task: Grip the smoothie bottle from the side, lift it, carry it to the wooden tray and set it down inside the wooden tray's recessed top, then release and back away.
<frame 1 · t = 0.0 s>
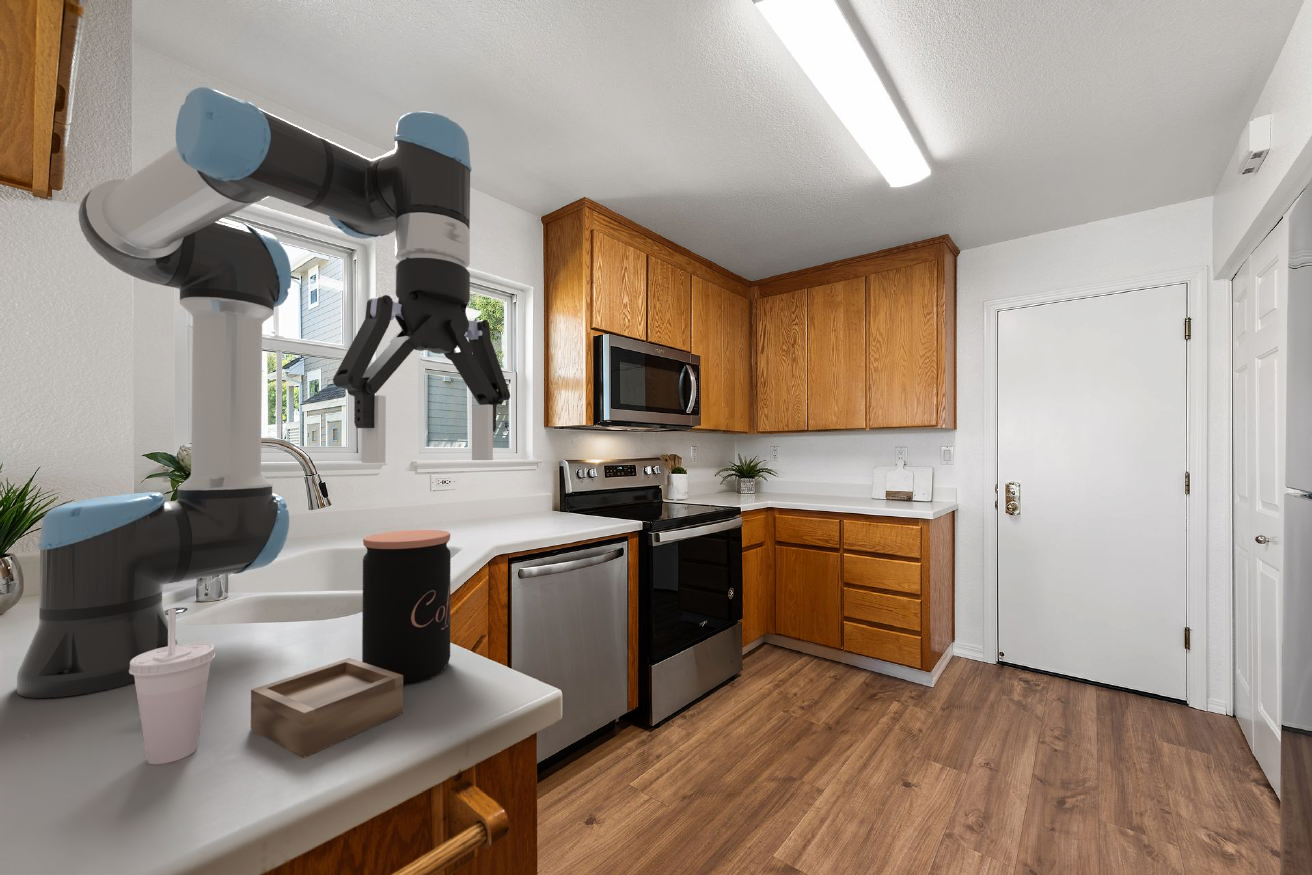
hand: (433, 461, 61), 28 cm above the countertop, tool pointing down, fingers open, 13 cm apart
wooden tray: (329, 721, 61), on the countertop
coffee jar: (407, 673, 75), on the countertop
smoothie: (172, 755, 55), on the countertop
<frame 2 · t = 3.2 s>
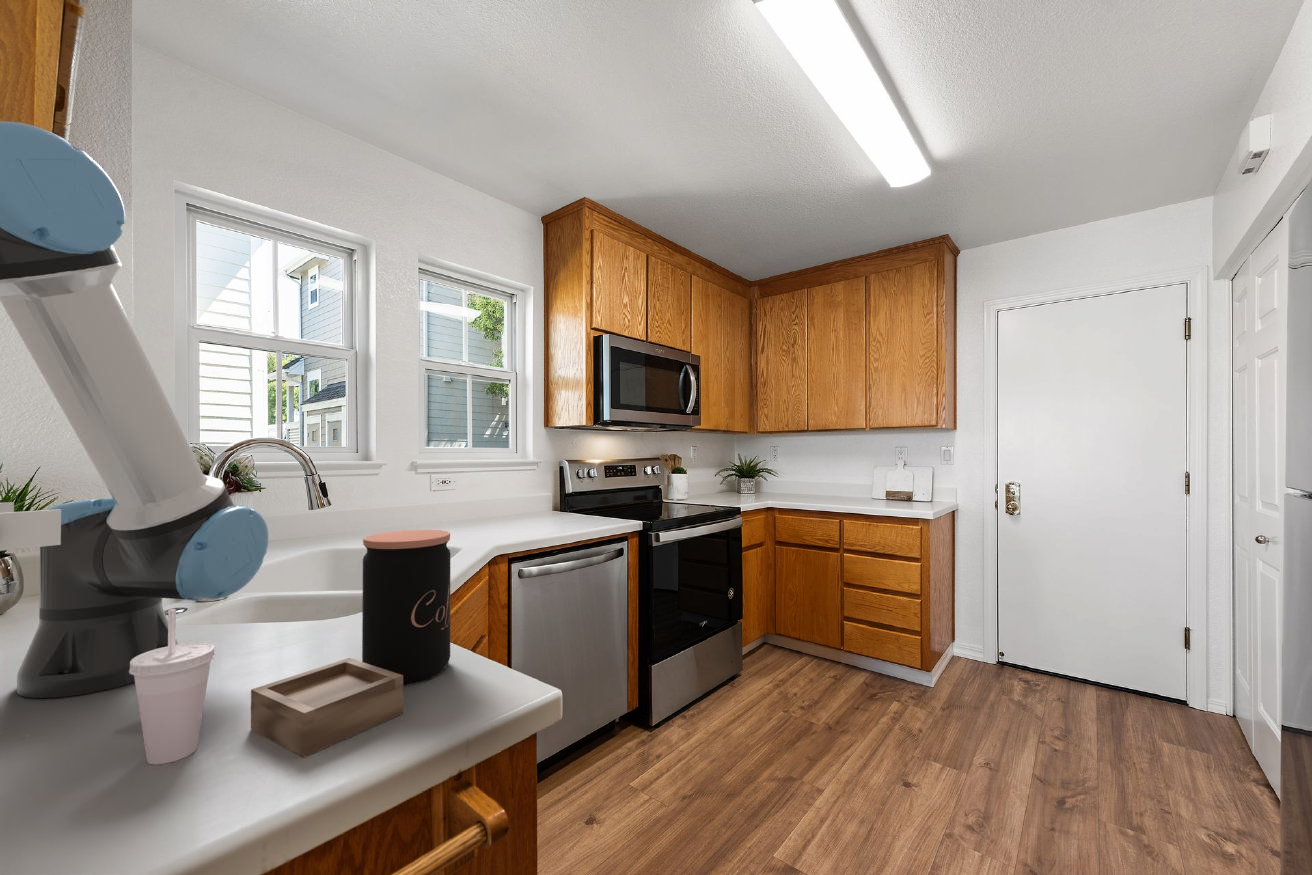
hand: (35, 521, 48), 23 cm above the countertop, tool horizontal, fingers open, 13 cm apart
nothing on the countertop moved.
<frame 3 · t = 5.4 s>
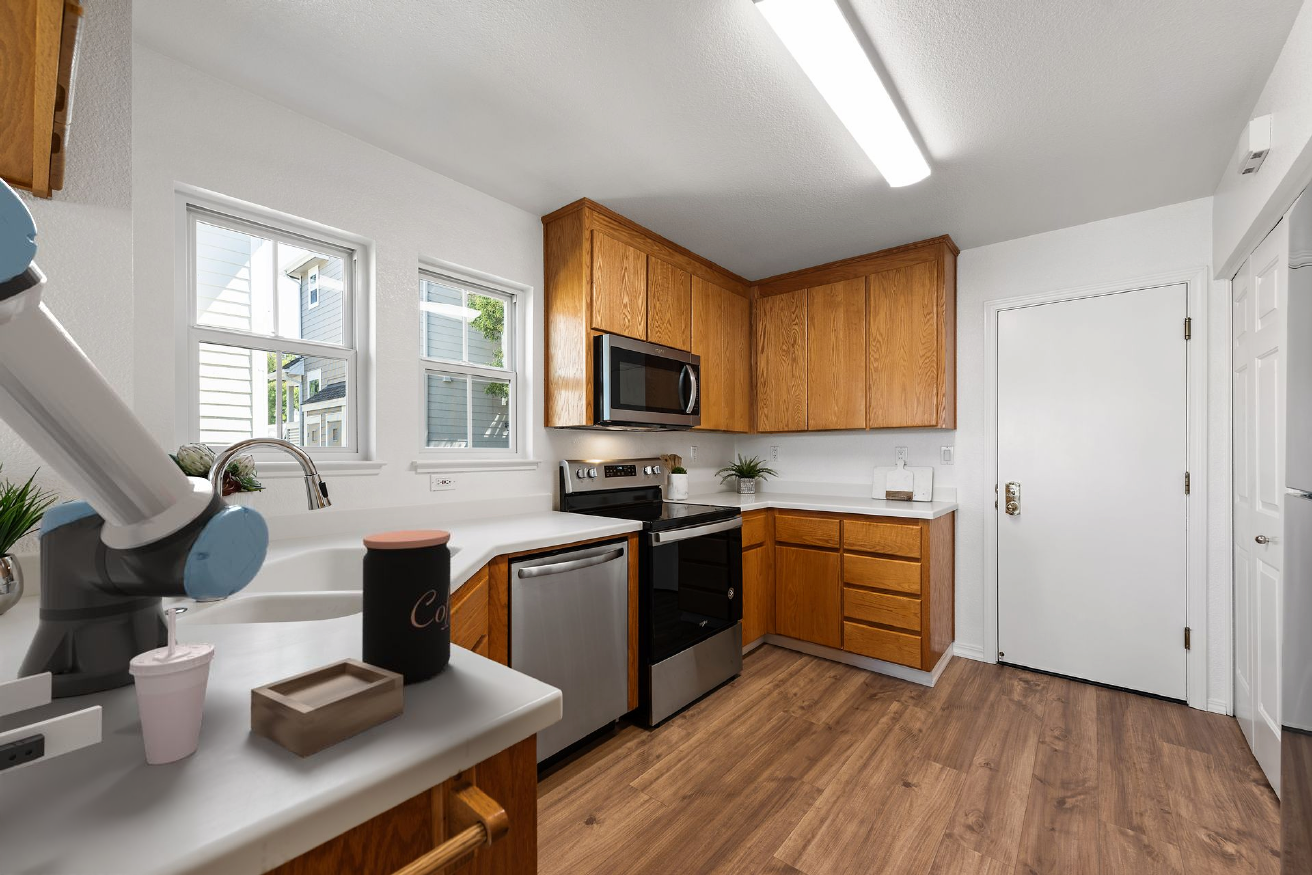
hand: (74, 703, 49), 7 cm above the countertop, tool horizontal, fingers open, 13 cm apart
nothing on the countertop moved.
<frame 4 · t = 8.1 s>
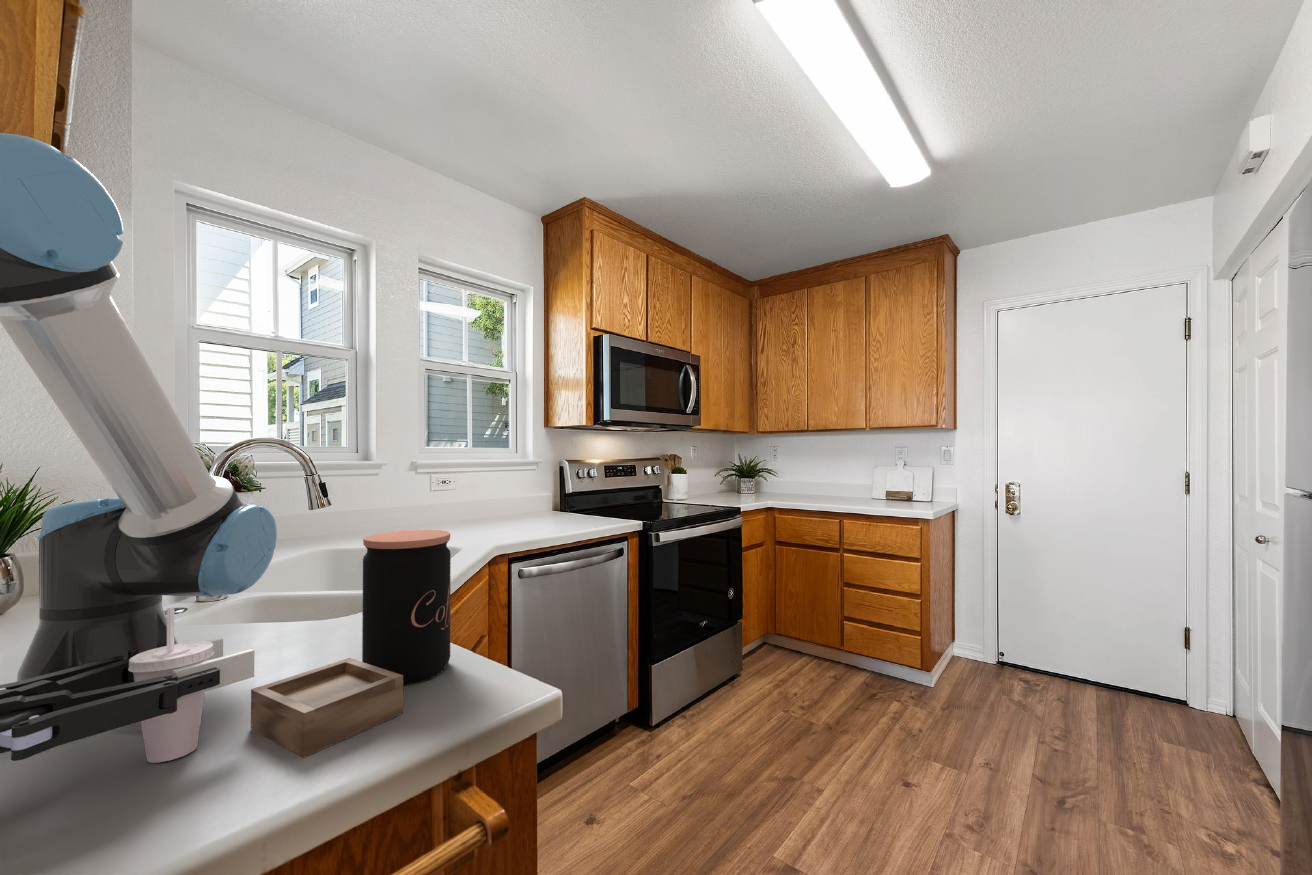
hand: (236, 656, 60), 8 cm above the countertop, tool horizontal, fingers closed on smoothie, 6 cm apart
smoothie: (172, 754, 55), on the countertop, touching gripper
everything else where it was.
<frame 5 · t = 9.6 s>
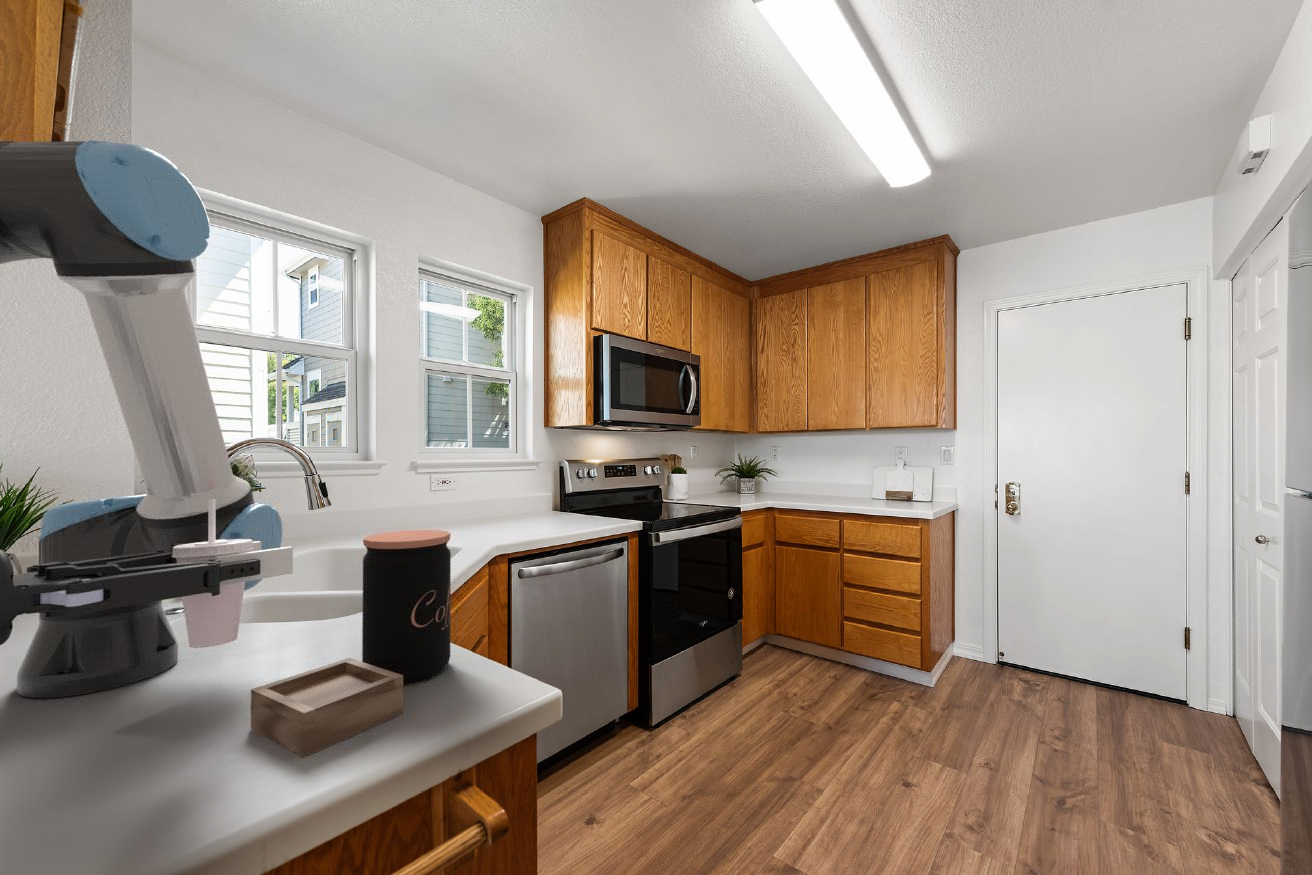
hand: (274, 556, 61), 18 cm above the countertop, tool horizontal, fingers closed on smoothie, 6 cm apart
smoothie: (213, 644, 56), point 10 cm above the countertop, touching gripper
everything else where it was.
when the fingers open (12 cm above the countertop, at t = 11.6 s): smoothie drops 2 cm, resting on wooden tray.
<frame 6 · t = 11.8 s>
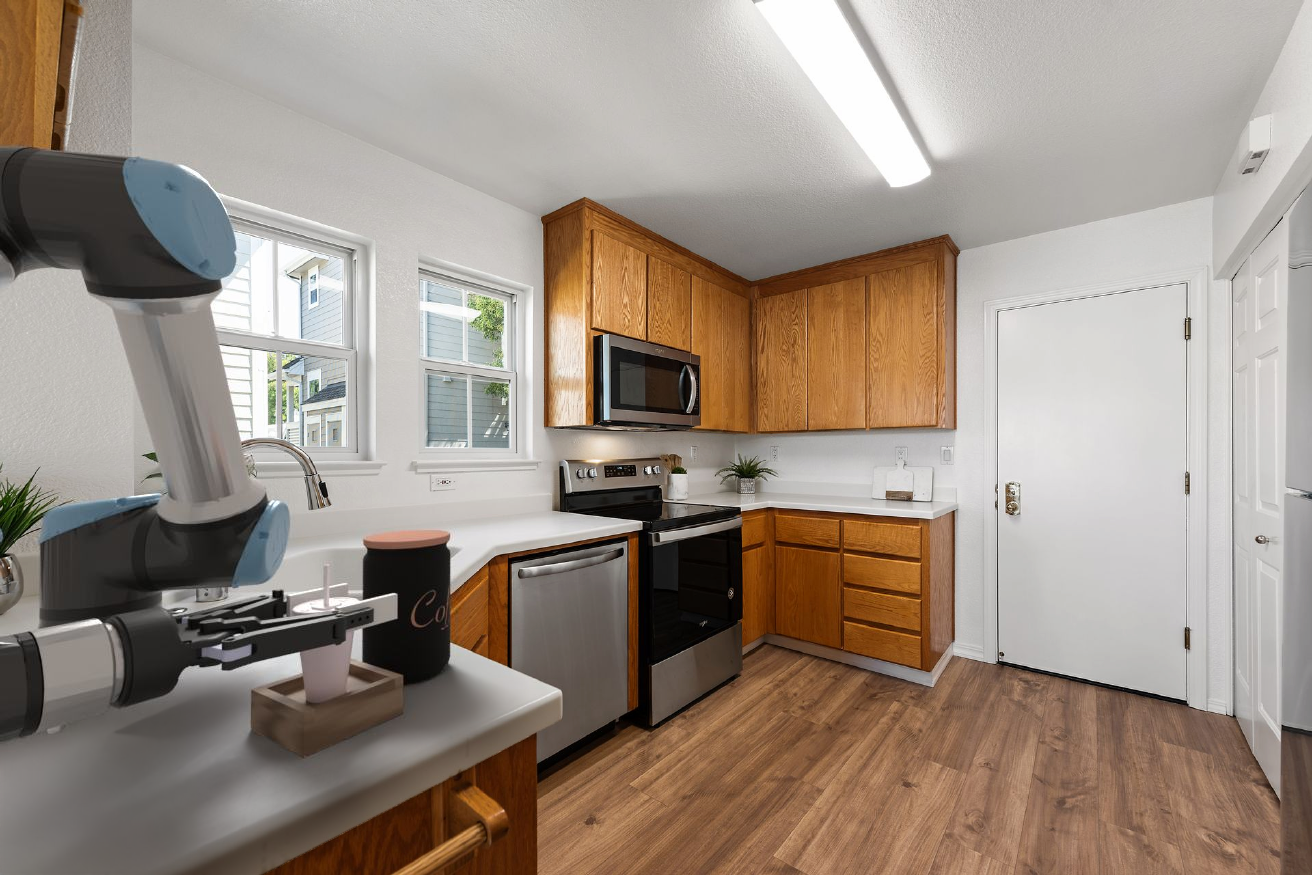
hand: (369, 600, 65), 12 cm above the countertop, tool horizontal, fingers open, 9 cm apart
smoothie: (326, 697, 61), point 3 cm above the countertop, touching wooden tray
everything else where it was.
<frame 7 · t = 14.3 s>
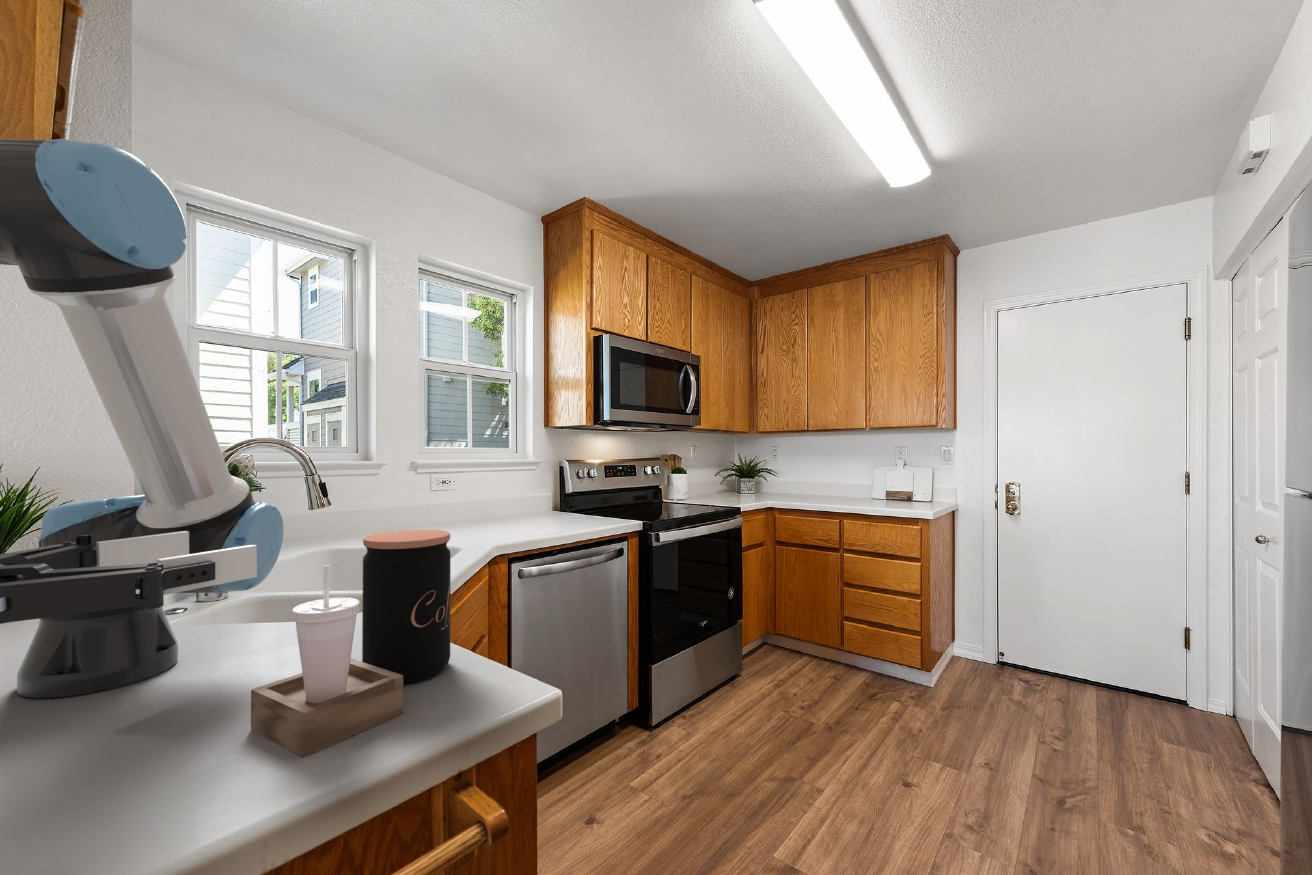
hand: (219, 552, 53), 20 cm above the countertop, tool horizontal, fingers open, 13 cm apart
nothing on the countertop moved.
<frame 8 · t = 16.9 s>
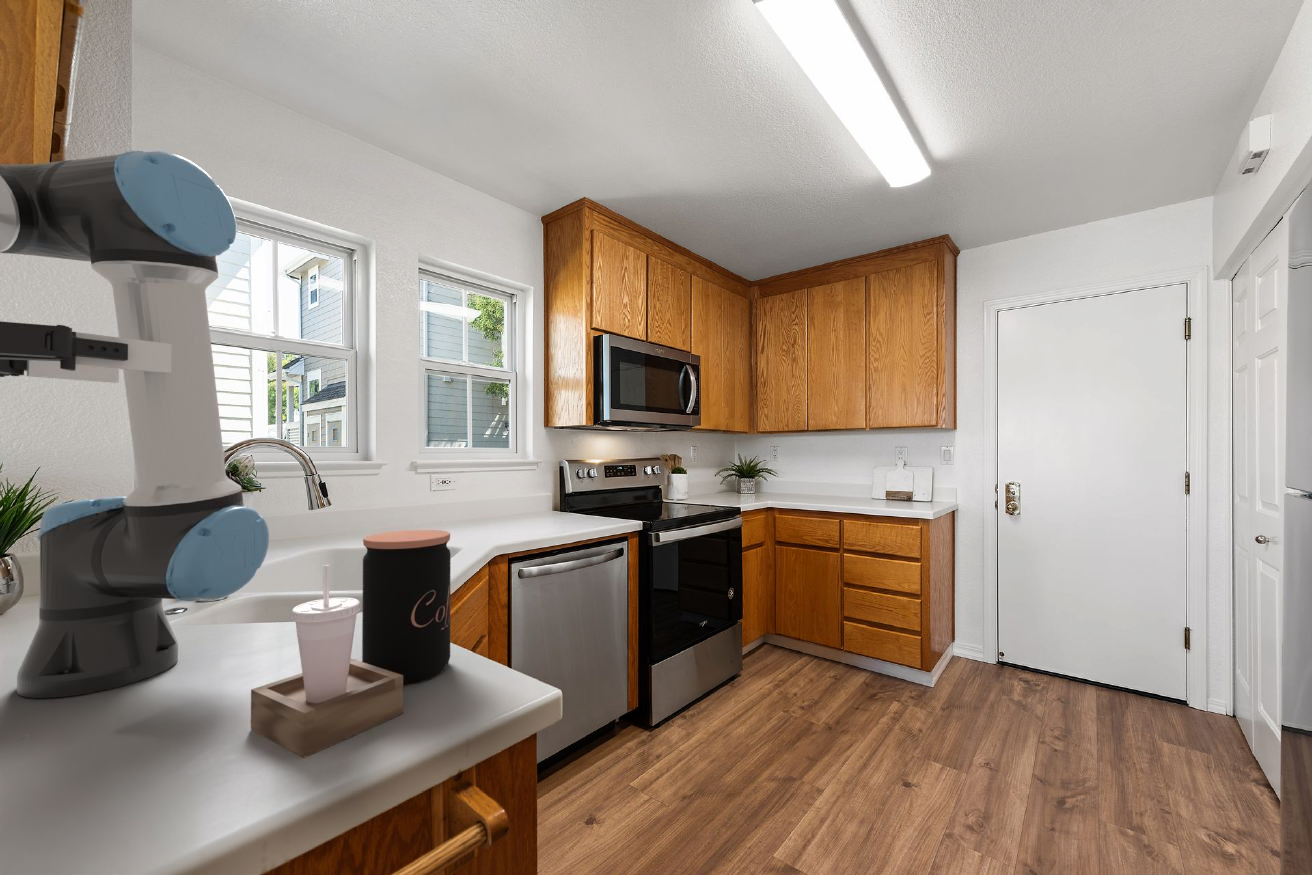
hand: (142, 364, 57), 38 cm above the countertop, tool horizontal, fingers open, 13 cm apart
nothing on the countertop moved.
at the end: smoothie 0.6 cm off-centre on the wooden tray, point 2.8 cm above the wooden tray's base; smoothie tilted 0°; the gripper is holding nothing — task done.
